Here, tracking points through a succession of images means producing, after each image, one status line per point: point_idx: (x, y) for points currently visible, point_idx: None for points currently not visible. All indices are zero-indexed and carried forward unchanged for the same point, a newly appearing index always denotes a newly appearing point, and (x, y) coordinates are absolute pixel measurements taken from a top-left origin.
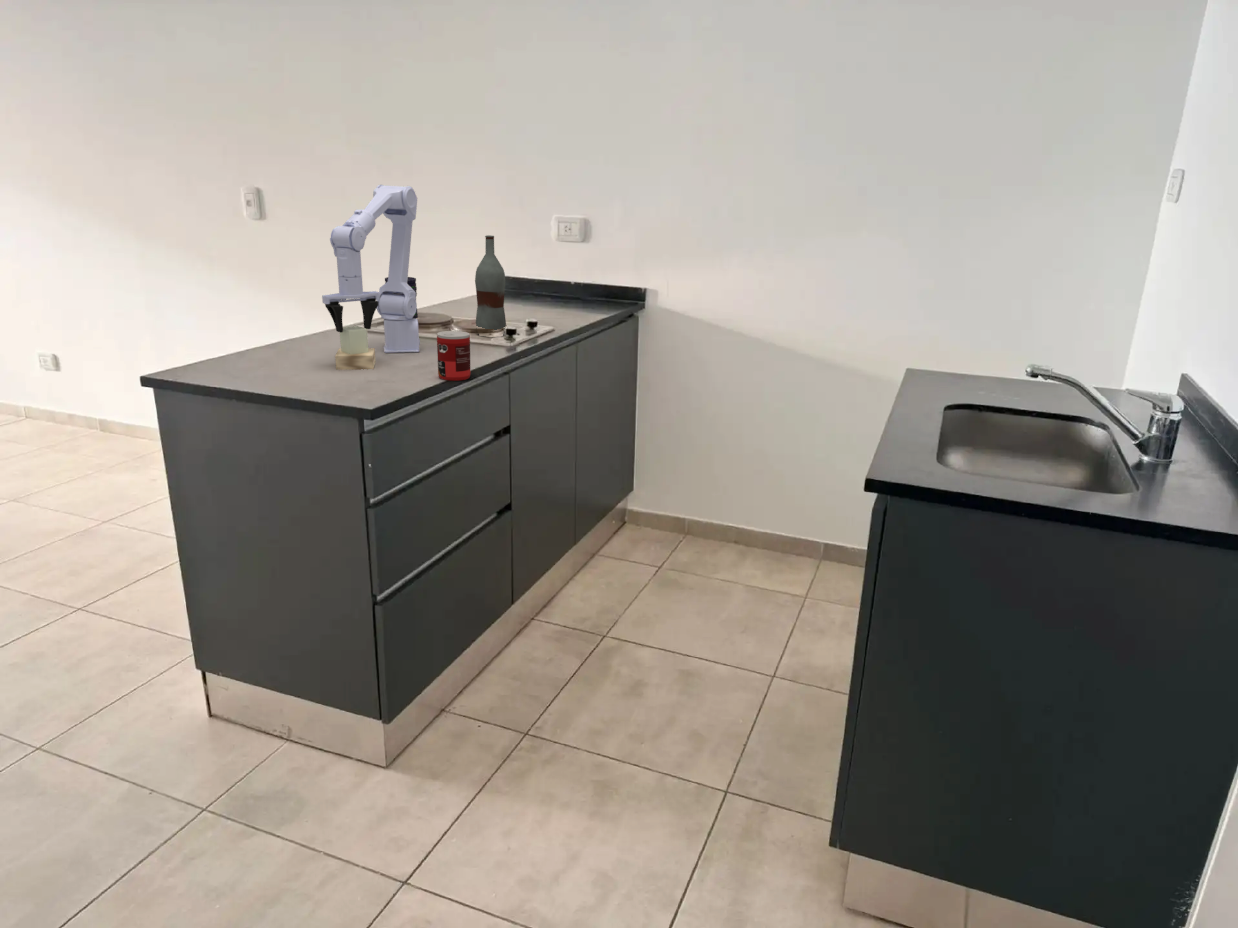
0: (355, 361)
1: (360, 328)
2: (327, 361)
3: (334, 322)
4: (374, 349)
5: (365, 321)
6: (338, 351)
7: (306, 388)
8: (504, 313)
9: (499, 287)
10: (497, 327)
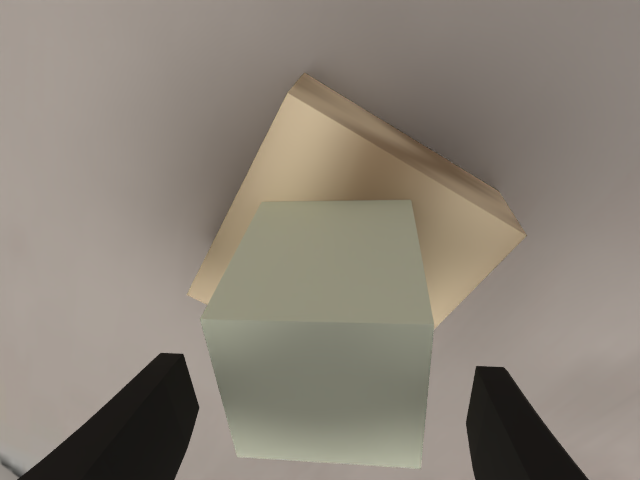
0: None
1: (385, 427)
2: (232, 4)
3: (95, 426)
4: (496, 265)
5: (495, 459)
6: (242, 201)
7: (52, 415)
8: None
9: None
10: None
